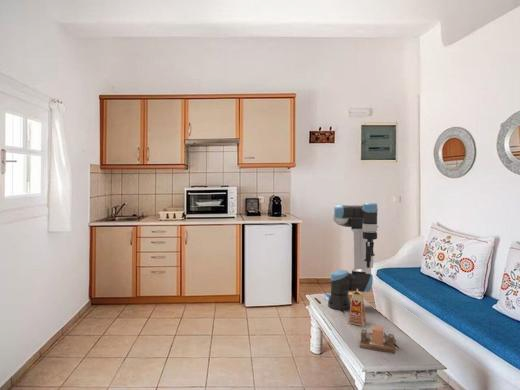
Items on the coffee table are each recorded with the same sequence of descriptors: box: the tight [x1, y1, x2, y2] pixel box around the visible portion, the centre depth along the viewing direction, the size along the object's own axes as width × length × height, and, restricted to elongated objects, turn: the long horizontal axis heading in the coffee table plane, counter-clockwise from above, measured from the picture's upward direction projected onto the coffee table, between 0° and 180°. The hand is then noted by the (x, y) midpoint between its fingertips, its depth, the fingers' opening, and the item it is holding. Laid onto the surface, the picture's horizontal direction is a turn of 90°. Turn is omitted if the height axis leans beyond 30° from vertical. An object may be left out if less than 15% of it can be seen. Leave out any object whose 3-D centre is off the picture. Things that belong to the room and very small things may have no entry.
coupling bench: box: [359, 329, 396, 354], centre depth 172 cm, size 16×16×6 cm
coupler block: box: [371, 325, 384, 345], centre depth 171 cm, size 5×5×7 cm
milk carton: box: [347, 289, 367, 327], centre depth 199 cm, size 9×9×20 cm
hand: (369, 270), depth 183 cm, fingers open, 13 cm apart
